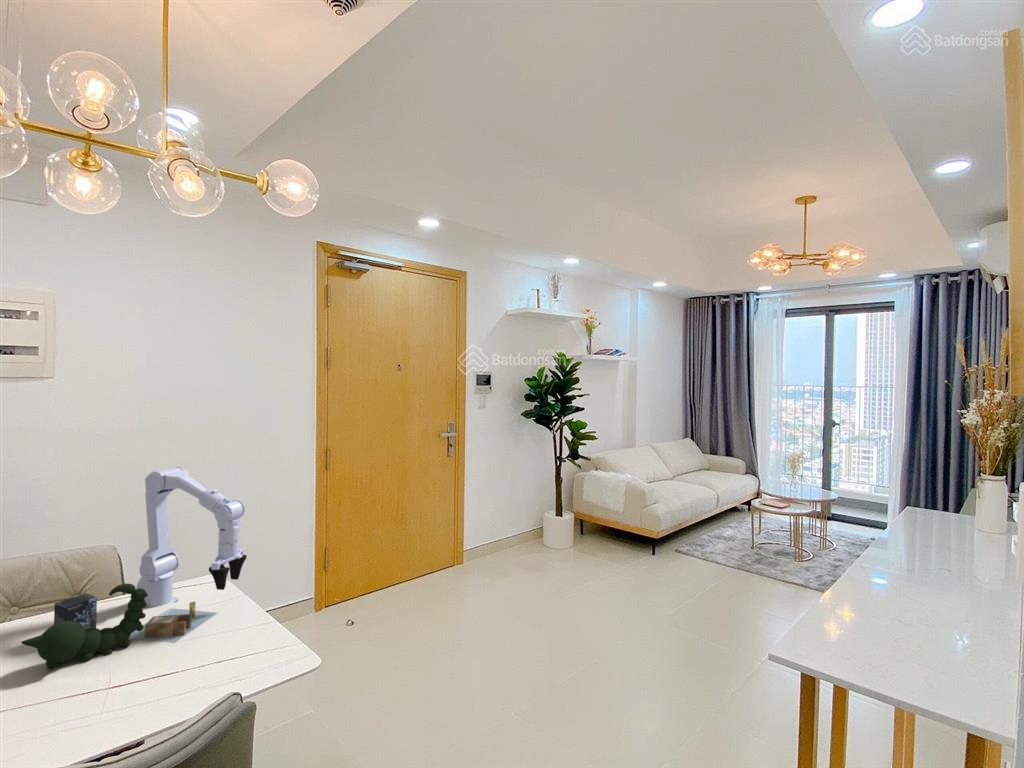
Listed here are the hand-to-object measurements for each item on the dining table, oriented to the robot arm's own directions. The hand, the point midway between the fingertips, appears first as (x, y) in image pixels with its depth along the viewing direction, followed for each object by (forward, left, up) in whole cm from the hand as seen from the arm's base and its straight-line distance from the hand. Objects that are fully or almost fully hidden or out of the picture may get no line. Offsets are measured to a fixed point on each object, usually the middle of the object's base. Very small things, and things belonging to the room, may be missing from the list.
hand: (227, 584), depth 162 cm
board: (-11, -9, -10) cm, 17 cm away
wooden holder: (-9, -13, -9) cm, 18 cm away
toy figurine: (-20, -28, -10) cm, 36 cm away
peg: (-9, -4, -10) cm, 14 cm away
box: (-33, -19, -10) cm, 39 cm away
